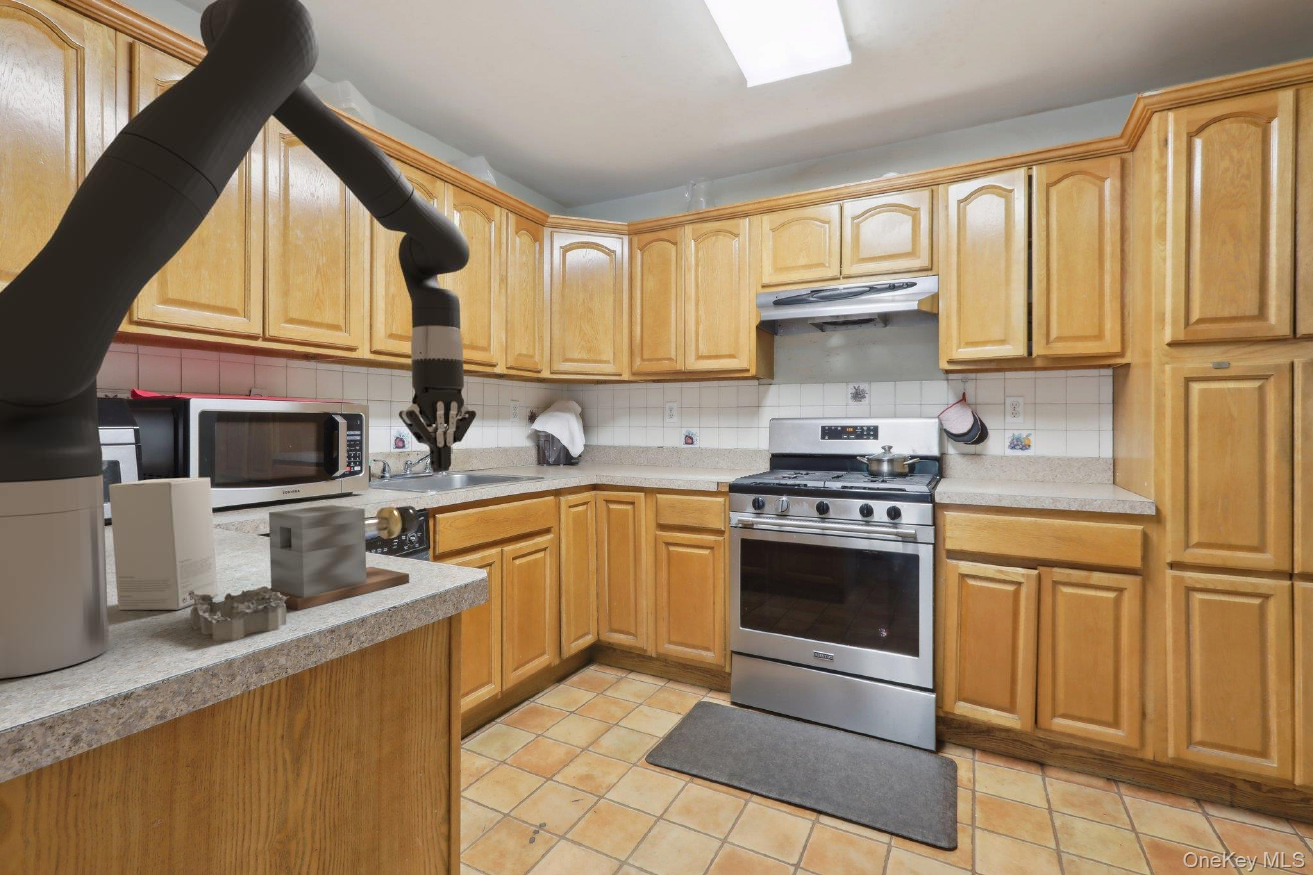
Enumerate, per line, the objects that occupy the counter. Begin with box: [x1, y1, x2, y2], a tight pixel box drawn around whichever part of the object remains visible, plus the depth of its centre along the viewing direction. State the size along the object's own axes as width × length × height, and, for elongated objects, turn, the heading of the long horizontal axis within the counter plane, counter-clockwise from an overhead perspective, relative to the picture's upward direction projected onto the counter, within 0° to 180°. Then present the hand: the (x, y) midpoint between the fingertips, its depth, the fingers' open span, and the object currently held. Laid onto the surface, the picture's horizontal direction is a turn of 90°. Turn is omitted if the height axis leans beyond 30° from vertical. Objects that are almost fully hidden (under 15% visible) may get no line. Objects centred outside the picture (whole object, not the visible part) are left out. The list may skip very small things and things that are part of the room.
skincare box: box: [108, 477, 219, 611], centre depth 77 cm, size 8×7×16 cm
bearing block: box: [268, 504, 410, 611], centre depth 82 cm, size 15×9×11 cm, turn 147°
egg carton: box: [188, 586, 289, 642], centre depth 68 cm, size 11×8×4 cm
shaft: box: [365, 505, 420, 540], centre depth 86 cm, size 14×4×4 cm, turn 147°
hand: (441, 471), depth 96 cm, fingers closed
